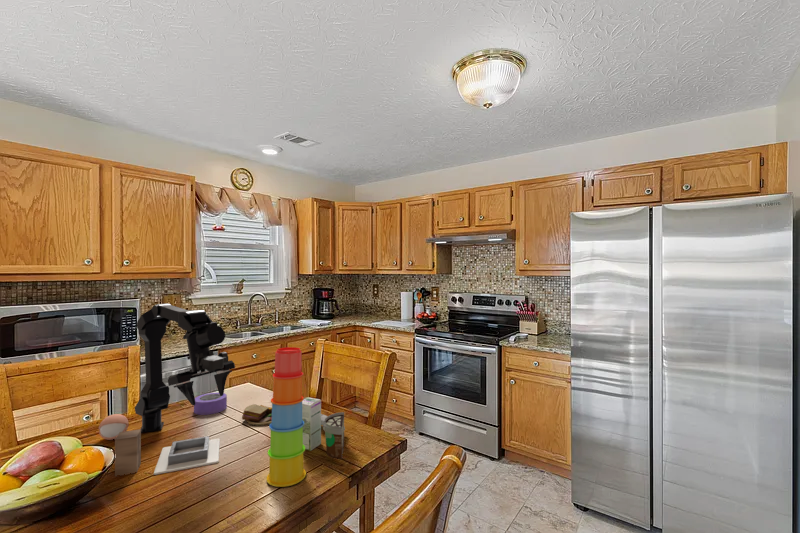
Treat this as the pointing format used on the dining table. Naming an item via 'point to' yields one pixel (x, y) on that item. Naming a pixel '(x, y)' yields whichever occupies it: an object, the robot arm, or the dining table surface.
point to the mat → (212, 459)
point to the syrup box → (311, 422)
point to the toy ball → (113, 426)
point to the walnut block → (128, 452)
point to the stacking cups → (287, 420)
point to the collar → (190, 455)
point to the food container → (334, 435)
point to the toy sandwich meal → (257, 415)
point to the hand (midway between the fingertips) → (208, 400)
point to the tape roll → (210, 403)
